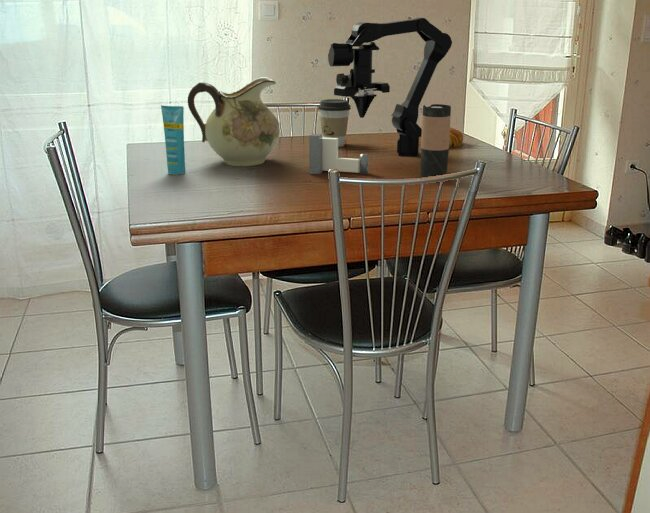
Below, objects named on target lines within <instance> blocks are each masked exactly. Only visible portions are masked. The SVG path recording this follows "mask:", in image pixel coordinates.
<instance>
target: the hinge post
mask: <svg viewBox="0 0 650 513" xmlns="http://www.w3.org/2000/svg"><path fill="white" fill-rule="evenodd" d="M359 159H360V171H359V174H360V175H368V174H369V161H370V160H369V153H361V154H359Z"/></svg>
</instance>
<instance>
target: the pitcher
mask: <svg viewBox="0 0 650 513" xmlns="http://www.w3.org/2000/svg"><path fill="white" fill-rule="evenodd" d="M276 84H277V83H276V81H275V80H274V79H272V78H270V77H267V76H262V77H258V78H255V79H253V80H251V82H249V83H247V84H246V85H245V86H243V87H242V88H239V89H238V90H236V91H234V92H231V93H227V92H223V91H222V90H218V88H216V87H215V86H214V85H213V84H210V83H207V82H205V81H199V82H198V83H197V84H195V85H194V86H193V87H192V88H191V89H190V91H189V93H188V95H187V106H188V109H189V112H190V113H191V115H192V116H193V118H194V119H195V121H196V123H197V124H198V127H199V128H200V132H201V135H202V138H201V139H202V140H201V142H202V143H205V142H208V145H209V147H211V150H213V152H214V153H215V154H217V155H218V156H219V157H220V158H221V159H222V160H223V163H224V164H225V165H228V166H232V167H254V166H259V165H262V164H265V161H266V158H267V157H268V155H270V153H272V151H273V150H274V149H275V147H276V145H277V143H278V142H279V139H280V134H281V128H280V122H279V120H278V118H277V117H276V115H275V113H273V111H272V110H271V109H270V108H269V107H268V106H267V105H266V104H265V103H264V102H263V100H262V99H261V93H262V92H263V91H264V89H267V88H268V87H270V86H274V85H276ZM205 92H206V93H207V94H208V95H210V96H211V98H212V100H213V101H214V104H215V108H213V110H212V111H211V113H210V114H209V115H208V117H207V119H206V121H205V122H204V121H203V119H202V117H201V116H200V114H199V112H198V111H197V108H196V105H195V98H196V96H197V95H198V94H199V93H205Z"/></svg>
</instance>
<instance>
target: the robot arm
mask: <svg viewBox="0 0 650 513" xmlns="http://www.w3.org/2000/svg"><path fill="white" fill-rule="evenodd" d="M409 33H417V34H418V35H419V37H420V38H421V39H422V40H423V42H425V44H424V48H423V60H422V62H421V64H420V66H419V68H418V70H417V73H416V75H415V77H414V80H413V82H412V85H411V87H410V88H409V91H408V94H407V96H406V98H405V100H404V101H403V103H401V104H399V103H396V105H395V107H394V111H393V112H392V113H391V115H390V116H391V117H392V118H391V123H392V126H393V128H395V129H396V133H397V134H399V135H398V138H397V139H396V153H397V155H398V156H400V157H401V156H405V157H406V156H408V157H410V156H412V157H414V156H416V157H418V156H419V155H420V153H419V150H420V146H419V145H420V144H419V143H420V138H421V135H422V127H421V126H419V124H418V123H417V122H418V119H419V107H420V104H421V102H422V100H423V98H424V95H425V93H426V90H427V89H428V86H429V84H430V82H431V80H432V77H433V75H434V73H435V71H436V69H437V67H438V64H439V63H440V62H441V61H442V60H443V59H444V58H445V57H446V55H447V54H448V52H449V51H450V49H451V48H452V45H453V41H452V40H453V39H452V37H451V36H450V35H449V34H448V33H447V32H443V31H441V30H440V29H439V28H438V27H436V26H435V25H433V24H432V23H431V22H430V21H429V20H428V19H427V18H425V17H415V18H411V19H403V20H396V21H389V22H383V23H382V22H381V23H379V22H363V21H361V22H356V23H354V25H353V27H352V29H351V33H350V35H349V36H348V38H347V39H346V40H345V42H344V43H343V42H340V43H339V42H330V47H329V50H328V54H327V61H328V64H329V66H330V67H349V66H350V65H351V64H353V66H352V67H353V68H350V70H349V73H348V74H346V75H345V74H344V73H342V72H341V73H337V74H336V79H335V80H336V84H337V85H335V87H334V88H333V96H338V97H344V98H345V97H350V98H351V99H352V100H353V102H354V104H355V108H356V110H357V113H358V116H359V118H361V119H362V118H363V119H364V118H365V116H366V114H367V112H368V110H369V108H370V105H371V104H372V102H373V101H374V99H375V98H376V97H377V96H378V95H377V94H374V92H377V91H378V92H381V93H382V94H385V93H390V89H391V88H390V87H391V86H390V84H389V83H388V82H384V81H383V82H382V81H372V80H373V74H375V73H376V69H374V68H373V51H379V50H380V47H379V46H377V45H376V43H375V41H376V40H380V39H382V38H384V37H389V36H394V35H395V36H396V35H401V34H402V35H403V34H409ZM367 43H369V44H367ZM354 47H356V48H354Z"/></svg>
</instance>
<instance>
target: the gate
mask: <svg viewBox="0 0 650 513" xmlns="http://www.w3.org/2000/svg"><path fill="white" fill-rule="evenodd" d="M329 169H337V170H339V171H338V172H347V173H360V158H353V157H352V158H351V157H339V147H338V138H325V137H322V171H327V172H329V171H328V170H329Z"/></svg>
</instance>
